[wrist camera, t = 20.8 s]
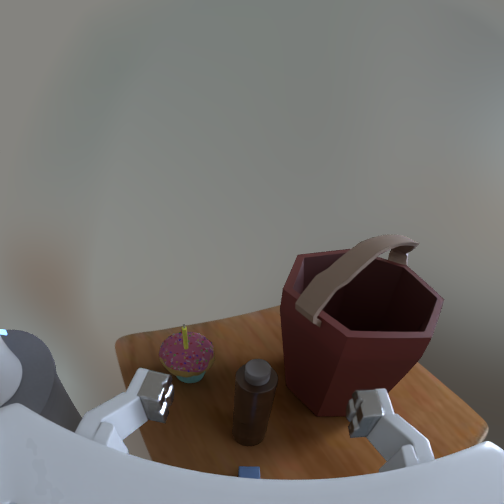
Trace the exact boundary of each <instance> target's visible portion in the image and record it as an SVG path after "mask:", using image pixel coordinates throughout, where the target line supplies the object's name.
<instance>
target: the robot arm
mask: <svg viewBox="0 0 504 504" xmlns="http://www.w3.org/2000/svg"><path fill="white" fill-rule="evenodd" d="M0 334H2V335H7V332H6V330H0ZM21 379H22V365H21V363H20V361H19V359H18V358H17V357H16V356H15V355H14V354H13V352H12V351H11V350H10V349H9V348H8V346H7V345H6V344H5V342H4V341H3V339H2V337H1V336H0V406H2V405H3V404H4V403H6V402H7V401H8V400H9V399H10V398H11V397H12V396H13V395H14V394H15V392H16V391H17V389H18V387H19V385H20V382H21ZM171 383H172V375H169V374H164V373H160V372H156V371H152V370H148V369H144V368H139V369H138V370H137V371H136V373H135V375H134V377H133V379H132V381H131V383H130V385H129V387H128V389H127V391H126V393H125V392H122V393H120V394H119V395H117V396H115V397H113V398H112V399H110V400H108V401H106V402H105V403H103V404H101V405H99V406H97V407H96V408H93V409H92V410H90V411H88V412H86V413H85V415H84V416H83V418H82V420H81V422H80V424H79V425H78V427H77V429H76V431H75V433H74V432H72V431H70V430H68V429H66V428H63V427H61V426H59V425H57V424H55V423H54V422H52V421H50V420H48V419H46V418H44V417H42V416H41V415H39V414H37V413H35V412H34V411H32V410H30V409H29V408H27V407H25V406H24V405H22V404H19V403H14V404H10V405H7V406H4V407H2V408H0V504H504V450H502V449H501V448H499V447H498V446H497V445H495V444H494V443H492V442H490V441H485V442H482V443H480V444H477V445H475V446H473V447H470V448H467V449H465V450H462V451H459V452H457V453H454V454H451V455H448V456H445V457H442V458H438V459H435V458H434V455H433V452H432V449H431V446H430V443H429V440H428V439H427V438H426V437H424V436H423V435H422V434H421V433H420V432H418V431H417V430H416V429H415V428H414V427H412V426H411V425H410V424H409V423H407V422H406V421H405V420H404V419H403V418H401V417H400V416H399V415H398V414H395V413H394V410H393V407H392V404H391V401H390V398H389V396H388V393H387V390H386V389H385V388H383V389H364V390H355V391H354V392H353V394H352V399H351V400H349V401H348V404H347V407H346V418H347V420H348V421H349V422H350V424H349V426H348V429H349V435H350V438H355V437H366V438H367V439H368V440H369V441H370V442H371V443H372V445H373V446H374V447H375V448H376V449H377V450H378V452H379V453H380V454H381V455H382V456H383V457H384V458H385V460H386V461H387V462H386V463H385V464H384V465H383V466H382V467H381V468H380V469H379V473H374V474H367V475H360V476H352V477H343V478H331V479H314V480H271V479H254V478H242V477H233V476H224V475H217V474H210V473H204V472H199V471H193V470H188V469H183V468H179V467H174V466H170V465H166V464H162V463H158V462H154V461H150V460H147V459H143V458H140V457H136V456H133V455H130V454H128V452H129V451H128V449H127V447H126V445H125V444H124V442H123V441H122V440H123V439H125V438H126V437H127V436H128V435H130V434H131V433H132V432H134V431H135V430H136V429H137V428H139V427H140V426H141V425H143V424H144V423H145V422H146V421H148V419H149V420H153V421H158V422H162V423H166V420H167V417H168V414H169V409H168V407H169V406H170V405H172V402H173V398H174V386H173V385H172V384H171Z"/></svg>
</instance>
